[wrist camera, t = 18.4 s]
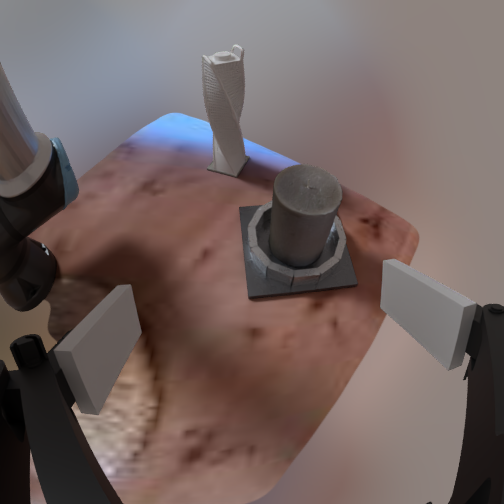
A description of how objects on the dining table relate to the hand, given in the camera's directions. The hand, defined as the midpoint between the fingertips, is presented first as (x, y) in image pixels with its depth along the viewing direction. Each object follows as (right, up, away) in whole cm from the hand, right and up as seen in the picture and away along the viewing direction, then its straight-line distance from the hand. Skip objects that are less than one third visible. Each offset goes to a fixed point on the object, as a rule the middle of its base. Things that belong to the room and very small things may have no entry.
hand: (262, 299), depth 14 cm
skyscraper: (-5, +21, +48) cm, 53 cm away
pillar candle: (+7, +4, +36) cm, 37 cm away
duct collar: (+7, +3, +37) cm, 38 cm away
